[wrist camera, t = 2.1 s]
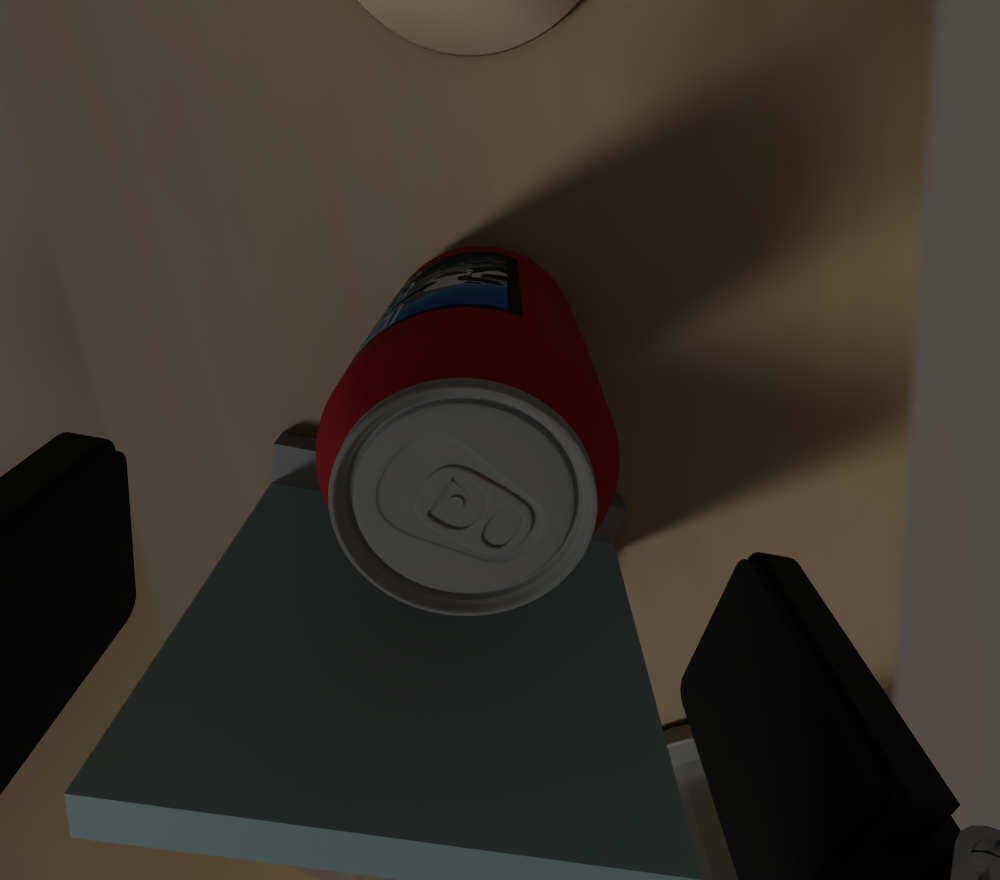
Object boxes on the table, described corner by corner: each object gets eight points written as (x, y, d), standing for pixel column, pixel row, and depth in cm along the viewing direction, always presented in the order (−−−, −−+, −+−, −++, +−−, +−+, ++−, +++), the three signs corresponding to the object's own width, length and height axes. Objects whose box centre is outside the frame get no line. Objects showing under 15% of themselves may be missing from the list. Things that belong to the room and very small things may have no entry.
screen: (589, 589, 28) (657, 954, 16) (275, 535, 27) (77, 883, 15) (622, 496, 26) (731, 833, 14) (282, 432, 25) (55, 736, 12)
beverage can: (449, 201, 21) (392, 272, 10) (611, 308, 23) (707, 466, 12) (358, 362, 24) (237, 554, 13) (509, 449, 25) (513, 685, 14)
